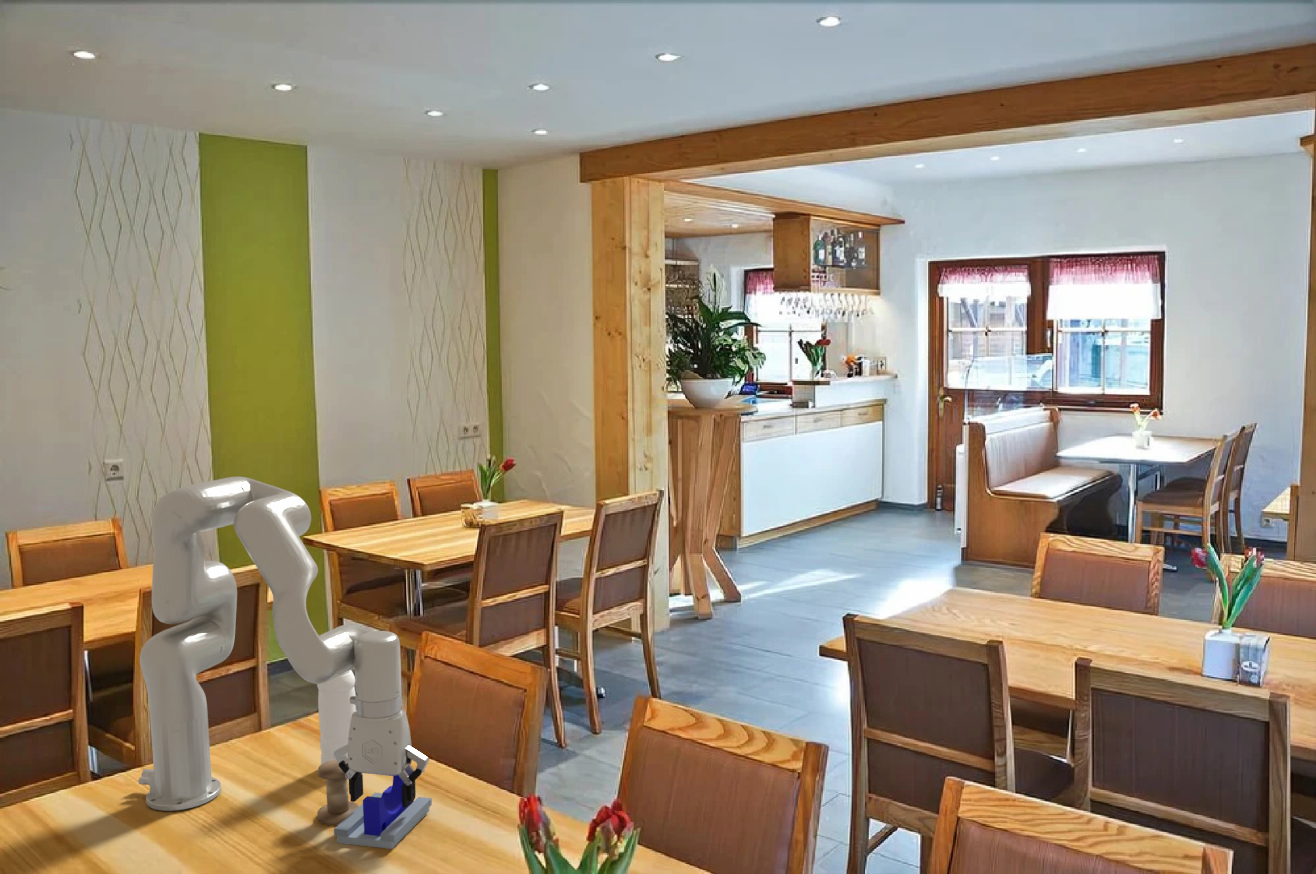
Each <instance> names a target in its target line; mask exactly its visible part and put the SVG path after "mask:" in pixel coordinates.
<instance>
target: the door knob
mask: <svg viewBox="0 0 1316 874" xmlns="http://www.w3.org/2000/svg"><path fill="white" fill-rule="evenodd" d="M317 769H318V770H317V772H318V777H320V779H324V780H325V786H326V788H325V789H326V791H325V792H326V804H325V805H323V806H321V807H320V808H319V809H318V810H317V815H316V816H317V821H318V822H319V823H320V824H323V825H327V826H335V825H337V826H338V825H339V824H340V823H341V822H342V821H343V820H344V819H346V818H347V817H348V816H349V815H350V814H351V813H352V812H354V811H355V810H356V809H357V808H358V807H359V806H360V805H358V804H357V803H356V802H351V800H350V801H349V780H348V779H347V778H346V777H345V773H344V772H343V771H342V770H341V768H340V767H339V763H338V762H337V760H332V761H328V762H325V763H323V764H322V765H321V764H320V765H319V766H318V768H317Z"/></svg>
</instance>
